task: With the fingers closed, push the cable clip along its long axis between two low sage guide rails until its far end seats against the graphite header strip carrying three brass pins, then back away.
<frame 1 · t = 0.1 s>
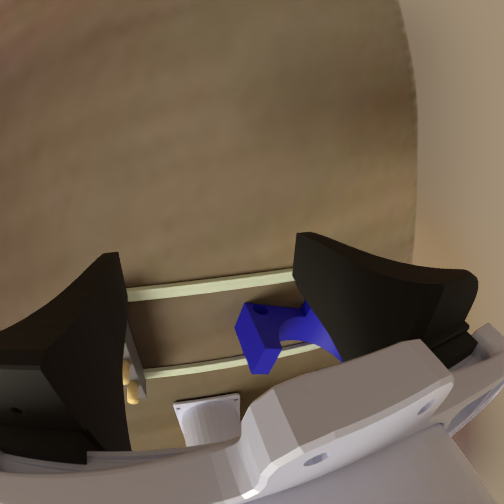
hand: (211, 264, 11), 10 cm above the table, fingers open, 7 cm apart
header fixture: (196, 330, 26), on the table
cable clip: (295, 312, 29), resting in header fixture
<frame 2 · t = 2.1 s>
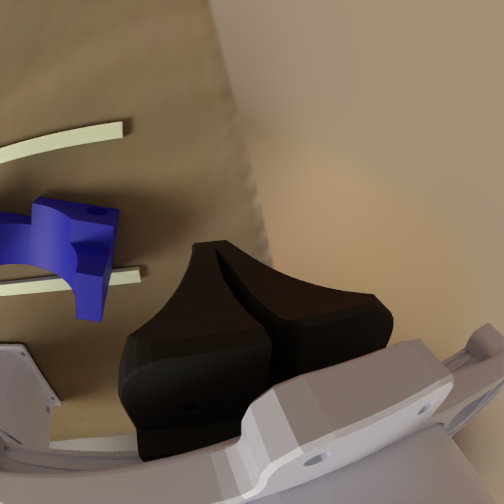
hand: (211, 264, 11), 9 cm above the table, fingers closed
cable clip: (39, 225, 16), resting in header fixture
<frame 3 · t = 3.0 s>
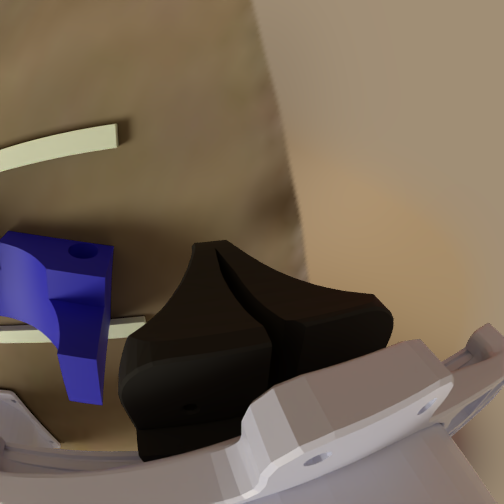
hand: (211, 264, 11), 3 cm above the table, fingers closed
cable clip: (14, 265, 12), resting in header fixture
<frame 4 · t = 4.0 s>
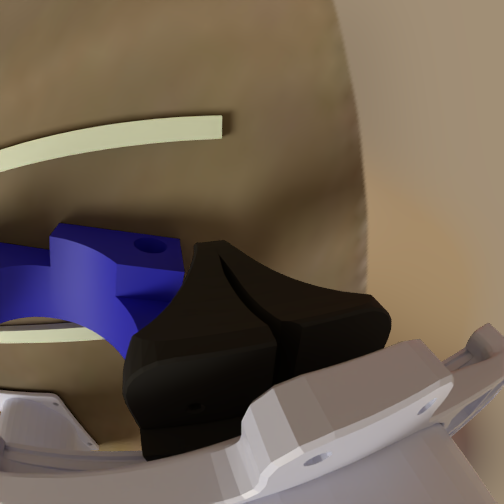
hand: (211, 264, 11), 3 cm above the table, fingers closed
cable clip: (60, 262, 12), resting in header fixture, touching gripper
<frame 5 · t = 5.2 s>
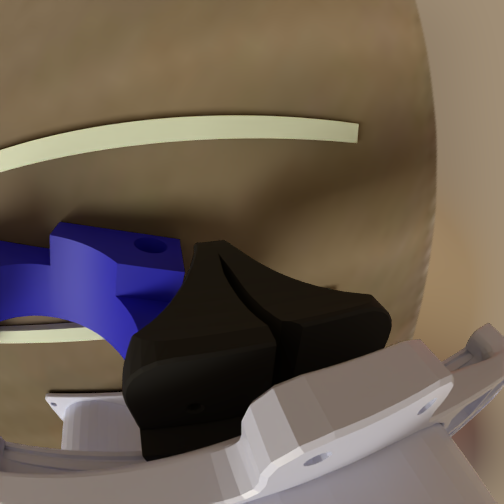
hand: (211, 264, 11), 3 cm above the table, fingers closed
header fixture: (26, 255, 11), on the table
cable clip: (60, 261, 12), resting in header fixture, touching gripper
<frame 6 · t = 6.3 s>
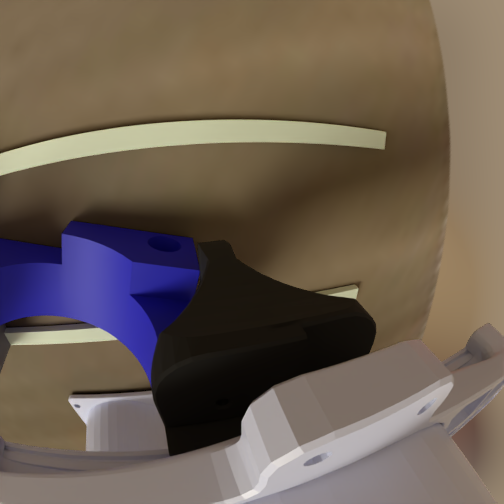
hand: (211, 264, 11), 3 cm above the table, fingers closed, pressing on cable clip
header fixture: (61, 252, 12), on the table
cable clip: (71, 261, 13), resting in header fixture, touching gripper
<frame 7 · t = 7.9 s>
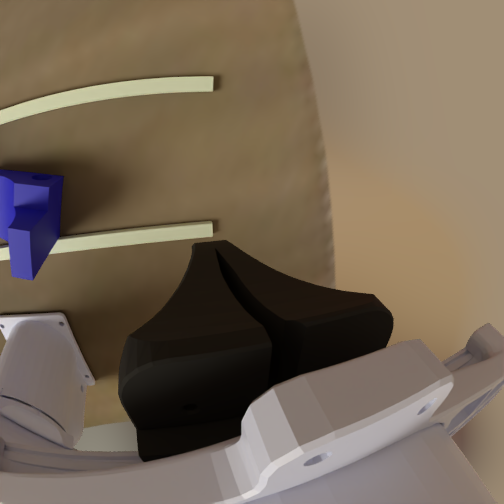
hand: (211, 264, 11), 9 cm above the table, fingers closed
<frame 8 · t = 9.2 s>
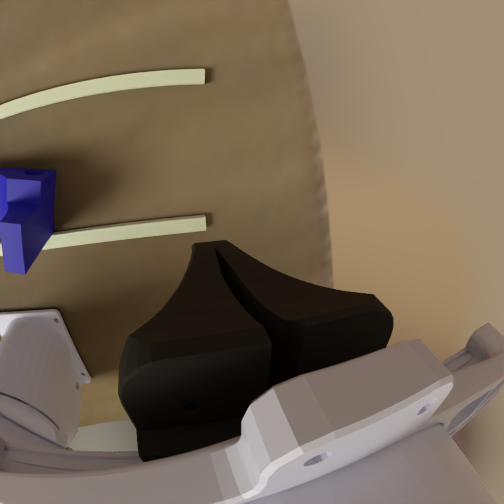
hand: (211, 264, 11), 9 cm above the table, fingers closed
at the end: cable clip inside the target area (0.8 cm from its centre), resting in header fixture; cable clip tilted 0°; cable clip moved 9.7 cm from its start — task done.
